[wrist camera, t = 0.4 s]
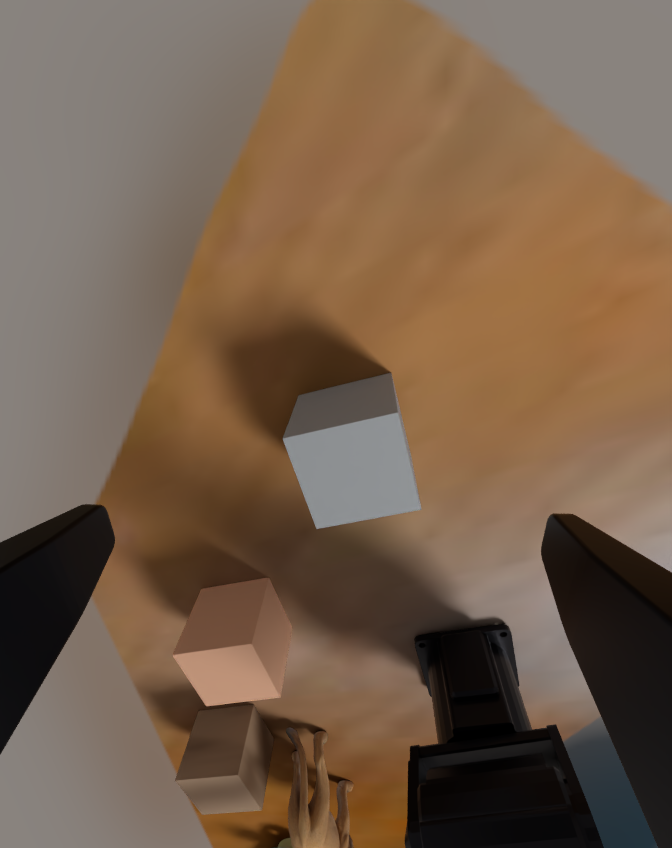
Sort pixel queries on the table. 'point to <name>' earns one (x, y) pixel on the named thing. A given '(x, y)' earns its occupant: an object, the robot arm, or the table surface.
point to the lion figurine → (316, 802)
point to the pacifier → (285, 843)
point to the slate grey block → (352, 452)
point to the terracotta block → (236, 643)
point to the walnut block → (227, 760)
